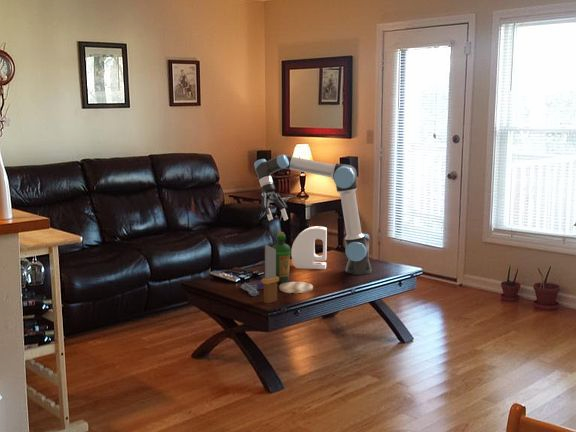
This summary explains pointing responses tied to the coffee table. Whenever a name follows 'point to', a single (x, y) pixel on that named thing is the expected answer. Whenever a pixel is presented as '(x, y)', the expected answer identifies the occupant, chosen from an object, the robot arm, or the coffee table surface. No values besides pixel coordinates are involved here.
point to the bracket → (309, 248)
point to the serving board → (296, 287)
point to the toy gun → (253, 287)
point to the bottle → (282, 258)
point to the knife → (270, 275)
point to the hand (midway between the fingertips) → (278, 219)
